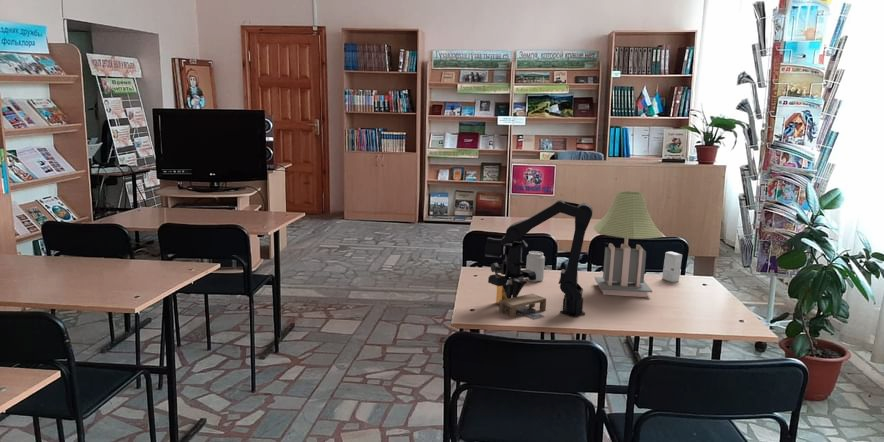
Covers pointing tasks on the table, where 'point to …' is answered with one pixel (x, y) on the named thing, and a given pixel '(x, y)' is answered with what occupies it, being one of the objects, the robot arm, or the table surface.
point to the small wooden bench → (521, 303)
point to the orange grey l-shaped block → (519, 310)
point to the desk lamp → (626, 245)
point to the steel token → (534, 315)
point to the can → (536, 264)
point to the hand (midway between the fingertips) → (511, 300)
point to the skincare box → (672, 266)
